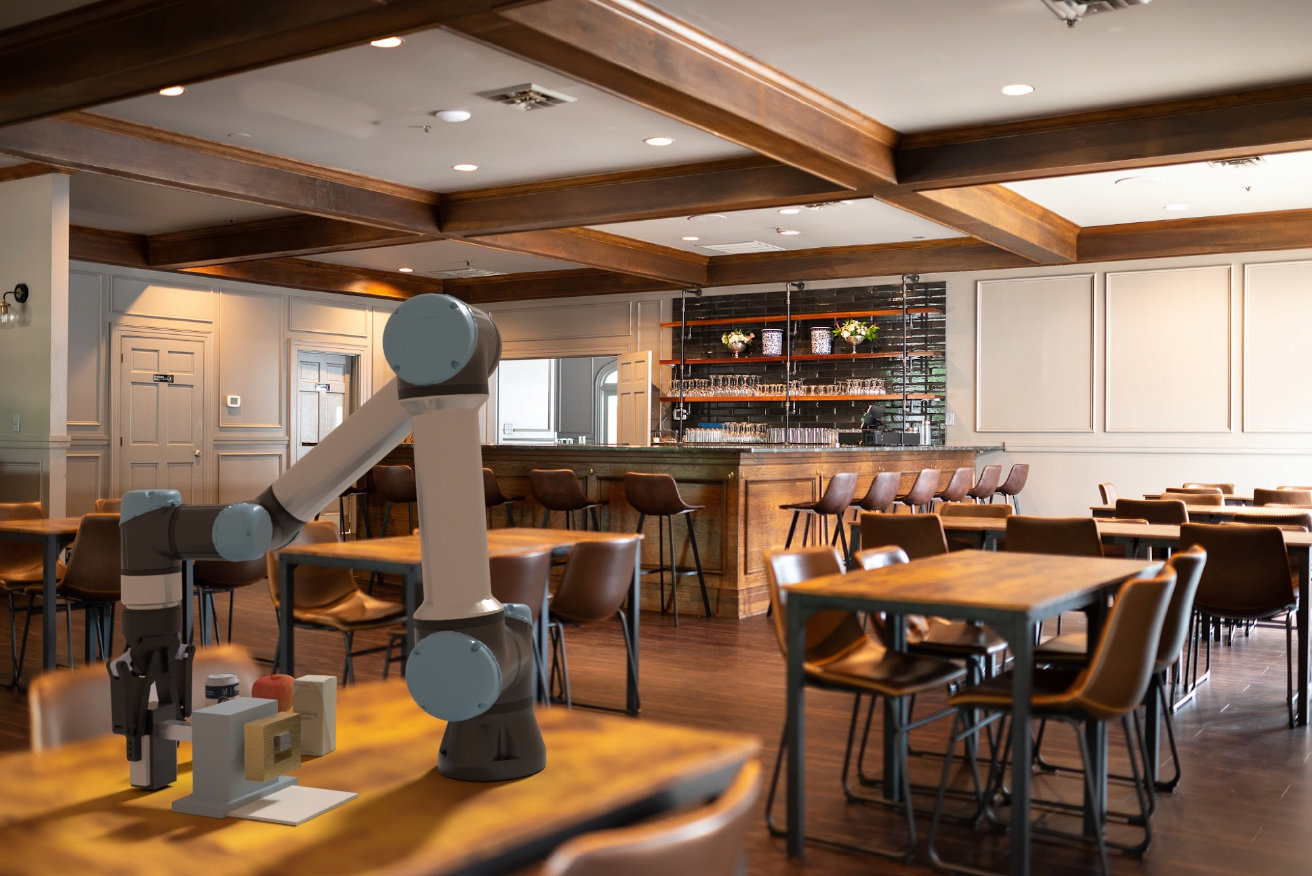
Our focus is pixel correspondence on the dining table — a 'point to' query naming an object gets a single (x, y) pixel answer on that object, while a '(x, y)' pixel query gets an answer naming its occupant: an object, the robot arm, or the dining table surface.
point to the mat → (293, 805)
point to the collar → (271, 746)
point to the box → (316, 713)
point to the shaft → (164, 738)
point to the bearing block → (226, 759)
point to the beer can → (221, 688)
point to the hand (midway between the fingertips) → (154, 779)
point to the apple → (275, 690)
